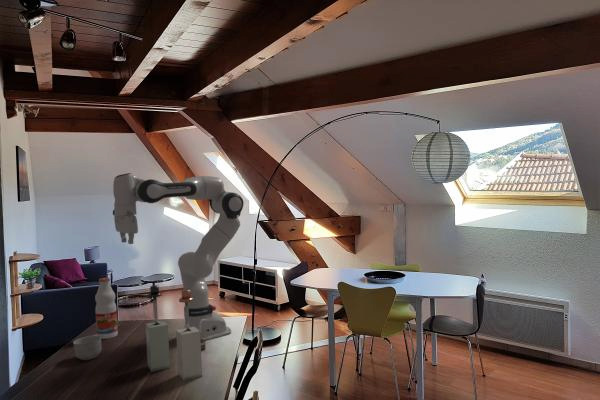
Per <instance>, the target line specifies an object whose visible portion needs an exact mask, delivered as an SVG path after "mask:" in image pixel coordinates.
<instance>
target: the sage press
mask: <svg viewBox="0 0 600 400" xmlns="http://www.w3.org/2000/svg"><path fill="white" fill-rule="evenodd" d="M145 335H146V336H145V341H146V357H147V358H146V359H147V368H148V369H149V370H150V372H152V373H153V372H157V371H158V372H159V371H161V370H162V371H163V370H167V369H170V368H171V365H170V364H171V363H170V361H171V360H170V344H169V343H170V342H169V325H168V323H167V322H165V321H164V320H158V325H155V321H153V322H148V323H147V322H146V323H145Z"/></svg>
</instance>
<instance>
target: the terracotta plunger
mask: <svg viewBox="0 0 600 400" xmlns="http://www.w3.org/2000/svg"><path fill="white" fill-rule="evenodd" d="M180 292H181V297H180V298H179V299H178V302H179V303H184V307H185V316H186V332H188V331H190V329H189V309H188V302H191V301H193V300H194V298H193V297H191V294H190V290H184V289H182V290H181V291H180Z"/></svg>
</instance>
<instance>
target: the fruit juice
mask: <svg viewBox="0 0 600 400" xmlns="http://www.w3.org/2000/svg"><path fill="white" fill-rule="evenodd" d="M110 280H111V278H110V277H102V278H99V279H98V283H99V286H98V289H97V292H96V294H95V296H94V297H95V298H94V300H95V303H96V305H95V311H94V312H95V323H96V324H95V325H96V327H95V328H96V335H97V336H100V337H101V340H108V339H113V338H114V337H117V336H118V334H119V331H118V329H119V328H118V316H117V315H118V314H117V309H118V308H117V304H116V301H115V300H116V293H115V292H114V290H113V288H112V286H111V283H110Z"/></svg>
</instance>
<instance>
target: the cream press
mask: <svg viewBox="0 0 600 400" xmlns="http://www.w3.org/2000/svg"><path fill="white" fill-rule="evenodd" d="M189 329H190V331H188V332H186V328H185V327H184V328H180V329H176V330H175V333H176V334H175V336H176V352H177V355H176V356H177V372H178V374H177V375H178V376H179V378H180V379H181V381H183V382H186V381H189V380H193V379H194V380H195V379H200V378H202V377H203V367H202V364H203V363H202V350H201V342H200V331H199V330H198V329H197V328H195V327H190V328H189Z"/></svg>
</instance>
